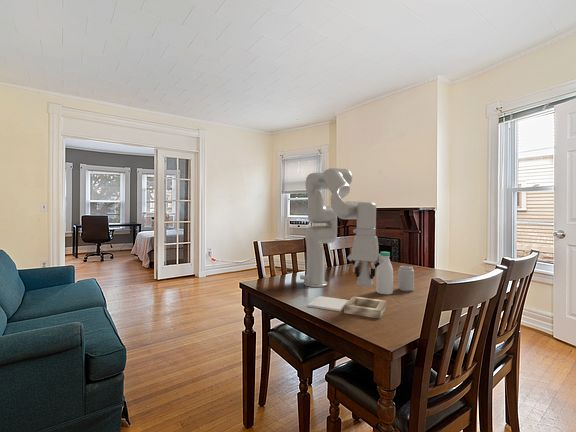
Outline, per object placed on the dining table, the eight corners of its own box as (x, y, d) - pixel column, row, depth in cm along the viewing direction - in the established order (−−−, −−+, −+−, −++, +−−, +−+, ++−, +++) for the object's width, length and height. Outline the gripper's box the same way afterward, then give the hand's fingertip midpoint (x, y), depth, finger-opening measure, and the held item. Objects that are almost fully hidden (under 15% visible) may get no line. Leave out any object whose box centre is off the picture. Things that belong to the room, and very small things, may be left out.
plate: (307, 306, 130) (307, 304, 130) (318, 297, 143) (318, 295, 143) (339, 311, 124) (339, 309, 124) (348, 301, 137) (348, 300, 137)
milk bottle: (393, 295, 147) (394, 253, 146) (376, 294, 149) (377, 252, 148) (391, 291, 155) (392, 251, 154) (375, 290, 156) (376, 250, 155)
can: (413, 288, 159) (413, 265, 159) (414, 292, 152) (414, 268, 152) (398, 287, 161) (398, 264, 161) (398, 291, 154) (398, 267, 154)
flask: (353, 282, 129) (354, 258, 129) (370, 282, 130) (370, 258, 129) (358, 287, 122) (359, 262, 122) (376, 287, 123) (377, 262, 122)
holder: (343, 313, 123) (344, 305, 123) (352, 303, 135) (352, 296, 135) (380, 318, 117) (380, 310, 116) (385, 307, 129) (386, 300, 129)
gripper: (342, 232, 125) (341, 276, 126) (386, 234, 118) (385, 282, 119) (347, 230, 132) (346, 272, 133) (389, 233, 125) (388, 277, 126)
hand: (365, 276), depth 126 cm, fingers closed on flask, 5 cm apart
